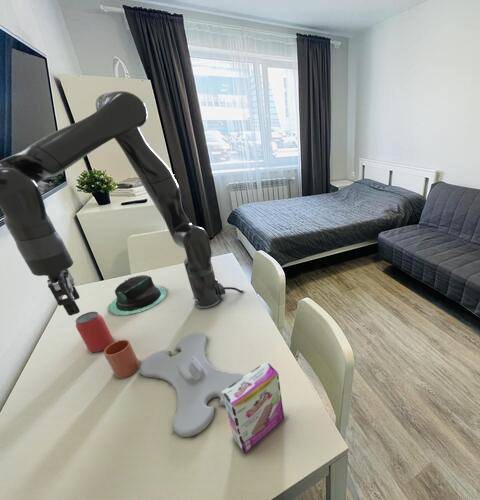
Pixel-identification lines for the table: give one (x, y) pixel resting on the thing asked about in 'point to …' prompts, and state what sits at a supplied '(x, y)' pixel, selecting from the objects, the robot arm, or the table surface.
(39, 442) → the table surface
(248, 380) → the candy bar box
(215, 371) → the holder
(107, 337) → the beer can
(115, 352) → the cup
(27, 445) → the table surface
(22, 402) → the table surface
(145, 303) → the black and green hat
